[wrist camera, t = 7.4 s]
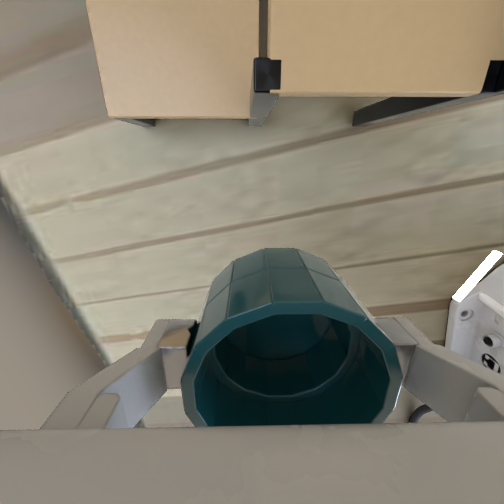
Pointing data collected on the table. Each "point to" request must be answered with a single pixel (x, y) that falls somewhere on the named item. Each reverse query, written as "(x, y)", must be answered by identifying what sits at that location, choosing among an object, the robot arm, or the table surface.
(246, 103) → the rack
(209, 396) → the cup
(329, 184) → the table surface
